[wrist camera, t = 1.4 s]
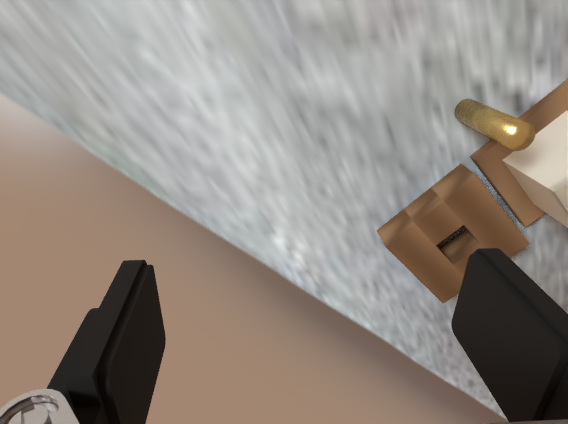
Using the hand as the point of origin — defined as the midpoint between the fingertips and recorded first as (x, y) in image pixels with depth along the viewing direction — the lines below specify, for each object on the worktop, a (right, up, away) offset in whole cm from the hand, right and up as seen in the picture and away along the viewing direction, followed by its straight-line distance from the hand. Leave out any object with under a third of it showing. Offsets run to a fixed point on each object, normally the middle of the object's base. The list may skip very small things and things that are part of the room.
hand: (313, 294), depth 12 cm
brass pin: (+15, +11, +23) cm, 30 cm away
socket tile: (+15, +1, +28) cm, 32 cm away
